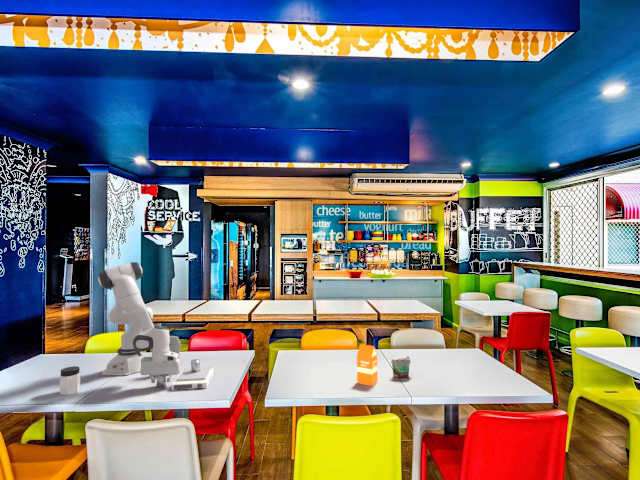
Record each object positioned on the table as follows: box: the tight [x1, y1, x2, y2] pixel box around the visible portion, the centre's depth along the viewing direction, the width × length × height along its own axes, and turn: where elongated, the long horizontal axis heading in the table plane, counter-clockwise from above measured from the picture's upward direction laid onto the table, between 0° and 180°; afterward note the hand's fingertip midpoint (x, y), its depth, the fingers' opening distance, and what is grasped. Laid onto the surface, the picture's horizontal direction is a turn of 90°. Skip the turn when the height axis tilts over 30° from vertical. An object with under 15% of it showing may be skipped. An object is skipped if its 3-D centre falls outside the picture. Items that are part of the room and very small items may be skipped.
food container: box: [390, 355, 411, 379], centre depth 203 cm, size 12×6×10 cm, turn 117°
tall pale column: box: [169, 335, 182, 374], centre depth 213 cm, size 11×4×22 cm, turn 93°
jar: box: [59, 365, 81, 396], centre depth 187 cm, size 9×8×12 cm
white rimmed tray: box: [170, 366, 215, 391], centre depth 199 cm, size 18×22×4 cm
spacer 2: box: [190, 358, 201, 373], centre depth 205 cm, size 5×5×6 cm
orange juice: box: [356, 343, 378, 386], centre depth 197 cm, size 8×9×20 cm
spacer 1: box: [156, 374, 167, 388], centre depth 194 cm, size 5×5×6 cm
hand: (160, 382), depth 193 cm, fingers open, 6 cm apart
